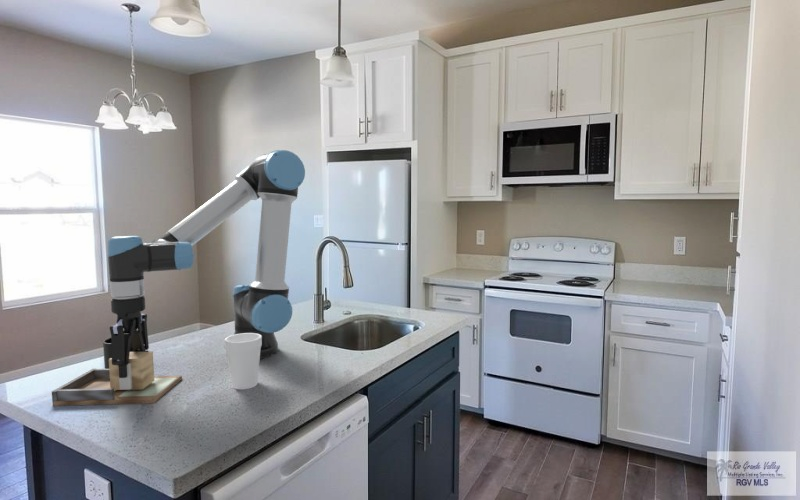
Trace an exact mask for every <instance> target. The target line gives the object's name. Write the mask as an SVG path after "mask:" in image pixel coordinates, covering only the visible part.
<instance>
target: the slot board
mask: <svg viewBox="0 0 800 500" xmlns="http://www.w3.org/2000/svg"><path fill="white" fill-rule="evenodd" d="M181 380H183V375H154V381H153V382H152V383H151V384H149V385H148V386H147V387H145V388H144V389H139V390H114V388H110V373H109V369H105V368H91V369H90V370H88V371H86V372H84V373H82V374H81V375H79V376H77V377H76V378H74V379H71V380H70V381H68V382H67V383H64V384H63V385H61V386H59V387H58V388H56V389H54V390H52V391H51V401H52V403H51V404H52V406H53V407H54V406H56V407H57V406H87V405H89V406H90V405H95V406H96V405H127V404H128V405H129V404H130V405H132V404H154V403H156V402H157V401H158V400H159V399H160V398H162V397H163V396H164V395H165V394H166V393H167V392H168V391H170V390H171V389H172V388H174V387H175V385H177V384H178V383H179V382H180V381H181Z"/></svg>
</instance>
